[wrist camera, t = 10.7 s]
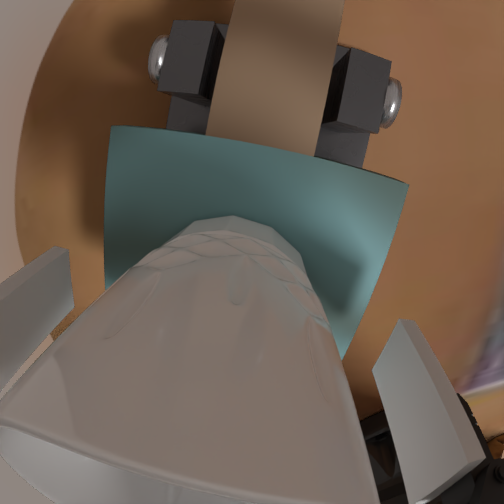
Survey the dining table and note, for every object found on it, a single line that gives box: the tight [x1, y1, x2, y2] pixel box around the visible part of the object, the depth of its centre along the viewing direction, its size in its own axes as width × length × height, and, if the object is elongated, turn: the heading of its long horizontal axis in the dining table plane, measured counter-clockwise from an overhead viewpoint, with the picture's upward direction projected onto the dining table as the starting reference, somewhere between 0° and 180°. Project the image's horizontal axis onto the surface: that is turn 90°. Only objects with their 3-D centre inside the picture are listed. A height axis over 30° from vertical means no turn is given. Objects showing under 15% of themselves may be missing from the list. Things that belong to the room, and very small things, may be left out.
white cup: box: [0, 215, 381, 504], centre depth 8 cm, size 8×8×10 cm
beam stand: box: [148, 20, 402, 168], centre depth 13 cm, size 8×12×8 cm, turn 79°
